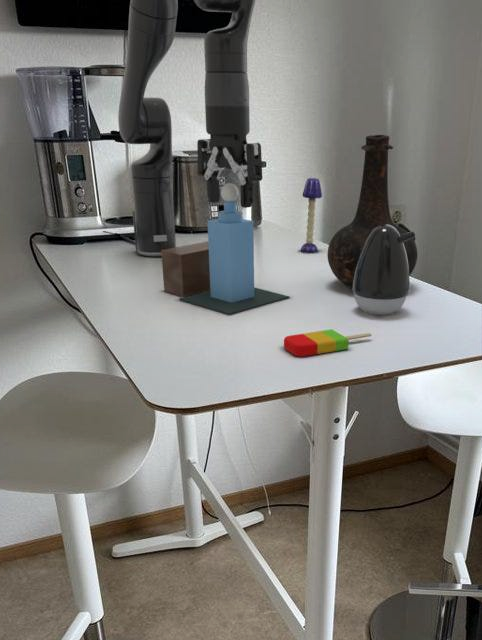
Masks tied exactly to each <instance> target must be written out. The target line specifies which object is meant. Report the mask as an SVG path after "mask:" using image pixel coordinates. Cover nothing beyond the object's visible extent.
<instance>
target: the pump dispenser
mask: <svg viewBox="0 0 482 640" xmlns="http://www.w3.org/2000/svg"><path fill="white" fill-rule="evenodd" d="M416 235H417V234H416V232H415V231H414V230H413V231H411V232H408V233H404V234H401V235H400V234H399V232H398V231H397V229H396V228H394V227H393V226H391V225H387V224H384V225H380V226H377V227H376V228H374V229H373V230H372V232H371V233H370V235H369V236H368V238H367V240H366V242H365V244H364V246H363V248H362V251H361V253H360V256H359V259H358V262H357V266H356V270H355V275H354V280H353V288H352V292H353V294H354V299H355V303H356V304H357V306H358V307H359V308H360V309H361V310H362V311H363V312H365V313H366V314H369V315H373V316H388V315H392V314H394V313H395V312H397V311H399V310H400V309H401V308H402V307H403V306H404V303H405V302H406V299H407V296H408V295H409V293H410V287H411V286H410V285H411V284H410V276H409V266H408V259H407V254H406V250H405V247H404V244H403V242H405V241H407V240H410V239H411V238H414V237H415V238H416Z"/></svg>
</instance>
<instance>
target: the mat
mask: <svg viewBox="0 0 482 640" xmlns="http://www.w3.org/2000/svg"><path fill="white" fill-rule="evenodd" d="M287 299H290V296H289V295H287V294H286V295H285V294H282V293H278V292H273V291H270V290H266V289H263V288H258V287H254V297H252V298H248V299H244V300H241V301H237V302H233V303H231V302H227V301H224V300H220V299H216V298H213V297H211V292H210V290H209V291H205V292H201V293H197V294H193V295H189V296H185V297H180V298H178V300H179V301H181V302H185V303H188V304H191V305H194V306H197V307H200V308H201V307H202V308H205V309H208V310H211V311H214V312H218V313H221V314H224V315H227V316H231V315H234V314H238V313H242V312H245V311H249V310H251V309H255V308H259V307H262V306H265V305H269V304H272V303H276V302H280V301H284V300H287Z"/></svg>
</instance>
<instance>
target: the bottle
mask: <svg viewBox="0 0 482 640" xmlns="http://www.w3.org/2000/svg"><path fill="white" fill-rule="evenodd" d="M239 193H240V192H239V188H238V187H237V185H235V184H234V183H232V182H228V183H225V184H223V186H222V187H221V189H220V197H221V199H222V200H223V210H220V211H218V213H217V215H218V217H217V219H216V218H215V219H211V220H207V242H208V245H209V268H210V290H209V291H210V292H211V297H213V298H216V299H220V300H224V301H227V302H231V303H233V302H237V301H241V300H244V299H248V298H252V297H254V288H255V238H254V237H255V236H254V235H255V234H254V232H255V231H254V225H255V223H254V220H250V219H245V218H243V211H240V210H237V201H236V200H237V199H238V197H239Z"/></svg>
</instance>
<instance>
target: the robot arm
mask: <svg viewBox="0 0 482 640" xmlns="http://www.w3.org/2000/svg"><path fill="white" fill-rule="evenodd" d="M193 2H194V3H195V5H196V6H197V7H198V8H199V9H201V10H202V11H206V12H214V13H215V12H216V13H231V18H230V21H229V23H228V25H227V26H225V27H222V28H216V29H213V30H209V31H208V32H207V33H206V34H205V36H204V41H203V49H204V51H203V52H204V71H205V76H204V111H205V132H206V133H207V134H208V135H210V137H209V138H201V139H197V143H196V146H197V147H196V149H197V151H196V152H197V153H196V154H197V174H198V176H199V177H203V178H204V179H205V180H206V191H207V193H206V194H207V195H206V196H207V199H208V202H209V203H213V204H214V203H219V202H220V201H221V189H220V179H219V177H220V174H221V173H222V171H223V170H225V169H228V170H232V172H233V174H234V175H236V176H237V178H238V180H239V182H240V185H239V191H240V192H239V193H240V207H241V208H242V209H243V208H244V209H247V208H252V206H253V204H254V184H255V183H257V182H261V181H262V180H263V159H262V145H261V143H260V142H252V143H248V141H247V137H248V136H247V135H248V134H249V133H250V132H251V131H250V129H251V128H250V85H249V75H248V40H249V35H250V34H249V33H250V27H251V22H252V16H253V12H254V8H255V3H256V0H193ZM178 10H179V2H178V0H130V2H129V13H128V30H127V44H126V46H127V47H126V59H125V68H124V74H123V79H122V86H121V90H120V91H121V92H120V97H119V98H120V99H119V105H118V115H117V122H118V131H119V135H120V137H121V139H122V140H123V141H124V142H125V143H127V144H129V145H149V149H148V151H147V152H146V153H145V154H144V155H143V156H142V157H140V158H138V159H137V160H135V161H133V162H132V163H131V164H130V176H131V177H130V179H131V188H132V189H131V191H132V200H133V210H132V221H133V222H132V223H133V234H134V235H133V236H134V240H133V239H131V238H130V237H128V236H127V237H125V236H126V235H125V236H123V235H124V234H123V235H120V236H119V238H122V239H123V240H125V241H127V242H128V243H130V244H132V245H134V246H135V252H136V253H137V254H138V255H140V256H142V257H155V258H156V257H162V255H161V250H165V249H170V248H175V247H177V240H176V223H175V222H176V221H175V208H174V193H173V178H172V165H173V135H172V132H173V131H172V130H173V129H172V128H173V127H172V116H171V111H170V108H169V105H168V103H167V102H166V100H165V99H163V98H162V97H145V93H146V89H147V87H148V84H149V81H150V79H151V77H152V75H153V74H154V73H155V71H156V70H157V68H158V67H159V66H160V64H161V62H162V61H163V60H164V59H165V57H166V56H167V53H168V52H169V51H170V49H171V48H172V45H173V42H174V39H175V35H176V27H177V18H178V13H179V11H178Z"/></svg>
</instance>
